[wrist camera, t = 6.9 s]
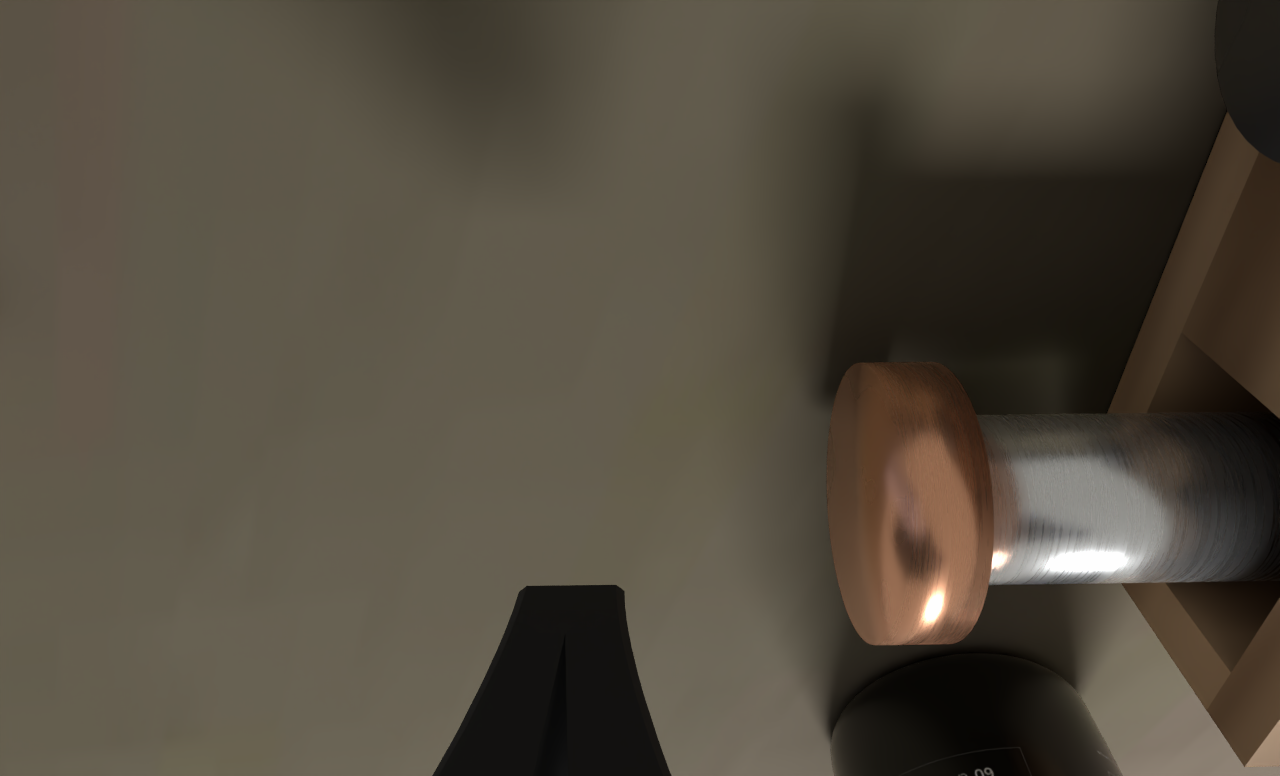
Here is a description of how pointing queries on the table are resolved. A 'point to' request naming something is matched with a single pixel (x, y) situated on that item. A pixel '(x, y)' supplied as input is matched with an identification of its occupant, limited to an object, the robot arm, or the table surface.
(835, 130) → the table surface
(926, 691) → the supplement bottle
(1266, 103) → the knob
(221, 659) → the table surface
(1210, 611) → the catch block
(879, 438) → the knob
